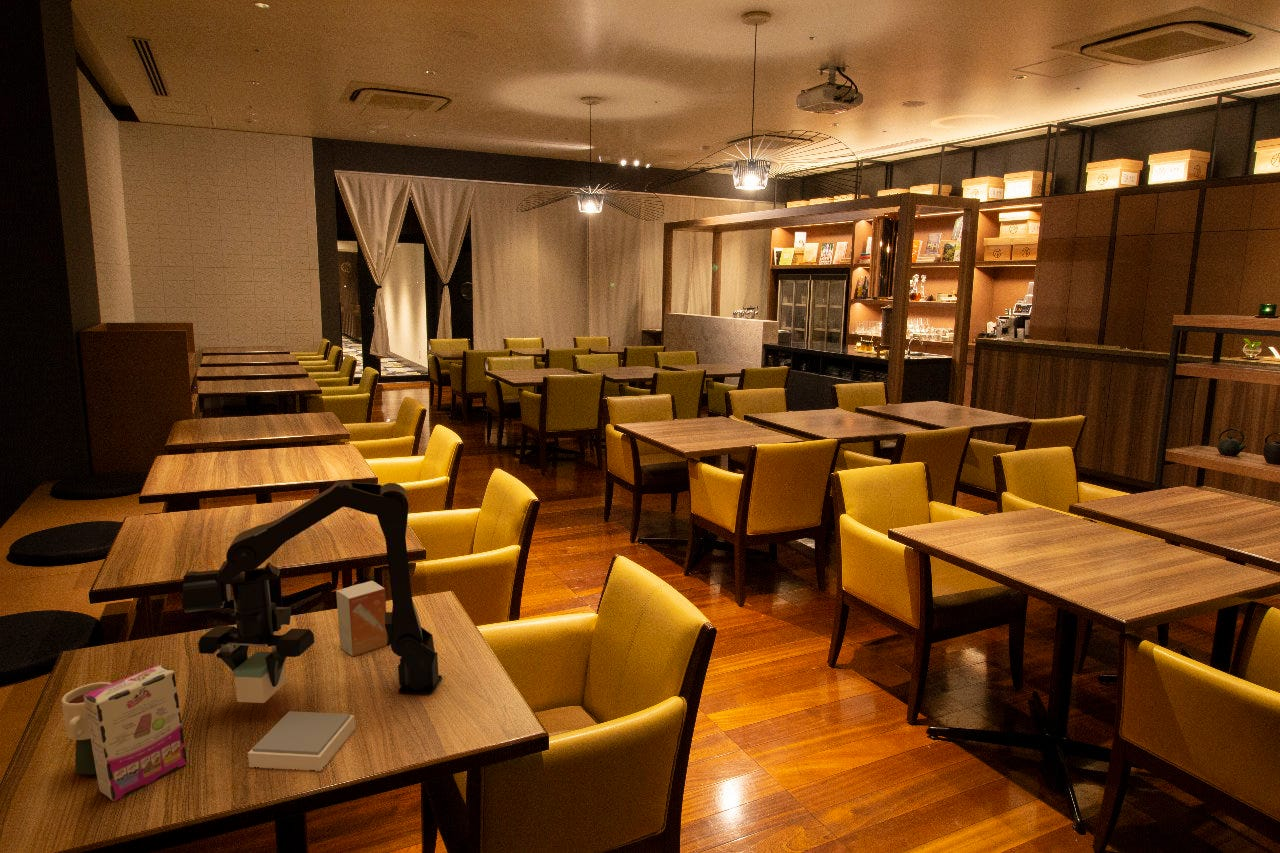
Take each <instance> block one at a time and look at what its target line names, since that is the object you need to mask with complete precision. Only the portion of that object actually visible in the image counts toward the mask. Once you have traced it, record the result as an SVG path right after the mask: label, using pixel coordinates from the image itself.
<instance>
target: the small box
mask: <svg viewBox="0 0 1280 853" xmlns="http://www.w3.org/2000/svg"><path fill="white" fill-rule="evenodd" d="M335 595H336V605H337V619H338V620H337V621H338V632H339V633H338V634H339V646H340V648H341V649H342V650H343V651H344V652H346V653H347V654H348V655H350V656H351V657H352V658H353V657H356V656H360V655H361V654H365V653H367V652H371V651H374V650H377V649H380V648H384V647H386V646H387V634H386V628H385V612H387V601H386V599H387V598H386V589H385V587H383V586H381V585H380V584H378V583H377V582H375V581H374V580H369V581H365V582H362V583H357V584H353V585H350V586H348V587H344V588H340V589H337V590H336V591H335ZM387 647H388V646H387Z"/></svg>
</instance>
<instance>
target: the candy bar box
mask: <svg viewBox="0 0 1280 853" xmlns="http://www.w3.org/2000/svg"><path fill="white" fill-rule="evenodd" d="M111 683H112V684H110V685H107V686H105V687H102V688H100V689H97V690H95V691H92V692H90V693H87V694H85V695H83V696H84V703H85V708H86V713H87V720H88V725H89V732H90V737H91V744H92V750H93V755H94V762H95V767H96V773H97V774H96V778H97V784H98V789H99V792H100V793H101V794H102V795H104V796H106V797H107V798H108V799H109V800H111V801H112V802H117V801H119V800H120V799H122V798H124V797H126V796H128V795H130V794H132V793H134V792H136V791H138V790H140V789H141V788H144V787H146V786H147V785H149V784H151V783H153V782H155V781H157V780H159V779H161V778H163V777H165V776H167V775H169V774H170V773H172V772H175V771H176V770H178V769H180V768H182V767H183V766H186V765H187V764H188V759H187V750H186V744H185V737H184V731H183V730H184V729H183V723H182V717H181V708H180V703H179V694H178V689H177V682H176V674H175V671H174V670H172V669H170V668H167V667H166V666H164V665H162V664H157V665H154V666H152V667H149V668H146V669H145V670H141V671H139V672H137V673H135V674H131V675H130V676H126V677H125V678H122V679H119V680H117V681H114V682H111Z"/></svg>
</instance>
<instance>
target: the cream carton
mask: <svg viewBox="0 0 1280 853" xmlns="http://www.w3.org/2000/svg"><path fill="white" fill-rule="evenodd" d="M270 653H272V651H256V652H254V653H253V654H252V655H251V656H250V657H249V656H248V659H247V660H246V661H244V662H243V663H242V664H241V665H240V666H238V667H237V668H236V669H235V670H234V672H233V676H234V687H235V696H236V702H237V703H254V704H255V703H258V704H259V703H260V704H264V703H266V702H267V701H268V700H269V699H270V698H271V697H272V696H273V695H274V694H275V693H277V691H279V690H280V689H281V687H283V686H284V685H285V684H286V675H285V674H286V673H285V664H284V665H283V668H282V672H281V675H280V678H279V682H278V684H277V685H276V686H275V687H273V686H272V684H271V681H270V677H269V672H268V668H267V664H266V659H265V658H266V657H267V656H268V655H269V654H270Z"/></svg>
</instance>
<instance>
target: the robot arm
mask: <svg viewBox="0 0 1280 853" xmlns="http://www.w3.org/2000/svg"><path fill="white" fill-rule="evenodd" d="M409 506H410V505H409V499H408V494H407V490H406V488H405V487H403V486H402V485H400V484H399V483H396V482H388V483H384V484H378V483H370V482H355V481H349V480H345V479H344V480H343V479H342V480H338V481H336V482H334V484H332V486H331V487H329V488H327V489H325V490H324V491H322V492H320V493H318V494H317V495H315V496H314V497H312V498H310V499H308V500H307V501H306V502H303V503H302V504H300V505H298V506H297V507H295V508H293V509H292V510H290V511H289V512H287V513H285V514H284V515H282V516H280V517H278V518H277V519H276V520H273V521H271V522H270V521H269V522H267V523H262V524H259V525H257V526H254V527H251V528H249V529H247V530H243V531H242V532H239V533H238V534H237V535H236V536H235V537H234V538H233V540H232V542H231V544H230V545H229V547H228V548H227V551H226V556H225V557H226V558H225V559H226V560H225V561H223V562H222V564H221V566H220V568H219V569H213V570H204V571H197V570H193V571H186V572H185V574H184V575H183V585H182V586H183V587H182V596H181V606H182V608H183V611H184V613H193V612H201V611H202V612H203V611H209V610H218V609H223V608H224V606H225V602H226V603H227V602H231V596H232V595H231V594H233V596H232V597H233V604H234V606H233V607H234V612H233V613H232V614H230V621H235V624H236V627H235V626H233V625H216V626H214V627H213V628H211V629H210V630H208V631H207V632H206V633H204V634H203V635H201V636H200V637H199V638H198V641H197V648H198V653H199V654H203V655H204V654H208V655H209V654H210V655H214V654H215V653H216V652H217V651H218V653H217V654H215V655H216V658H217V659H221V661H223V663H224V664H226V666H227V667H229V669H230V670H231V671H232V672H233V673H234V670H235V669H236V668H237V667H238V666H240V665H241V664H242V663H243V662H244V661H246V660H247V659H248V658H249V656H248V652H249V647H271V652H272V653H270V654H269V655H268V656H267V657H266V658H265V659H266V664H267V668H268V672H269V677H270V681H271V684H272V686H273V687H275V686H276V685H277V684H278V682H279V678H280V675H281V672H282V668H283V665H284V666H285V662H286V659H287V657H288V658H297V657H300V656H301V655H303V653H305V651H307V650H308V649H309V648H310V647H312V646H313V644H315V635H314V634H315V633H314V632H313V631H312V630H311V629H310V628H294V627H293V628H290V629H289V630H288V631H286V632H285V633H284V634H281V635H280V634H275V632H279V631H280V630H281V629H282V626H284V625H287V626H289V625H291V615H292V607H287V606H285V607H284V606H277V604H276V602H272V601H271V593H270V583H269V582H270V581H271V580H277V579H278V578H279V576H280V571H281V570H280V568H278V567H277V566H274V565H273V564H272V563H271V562H267V563H266V565H264V566H263V567H260V566H261V565H263V563H265V562H266V561H267V560H268V559H270V558H271V557H272V556H273V555H274V553H275V552H277V551H278V550H279V549H280V547H282V546H283V545H284V544H285V543H287V542H288V541H289V540H291V539H293V538H294V537H296V536H298V535H300V534H301V533H302V532H304V531H306V530H308V529H309V528H311V527H313V526H314V525H316V524H317V523H319V522H320V521H323V520H324V519H326V518H327V517H329V516H330V515H332V514H334V513H335V512H337V511H339V510H340V509H342V508H346V509H347V508H348V509H352V510H355V511H358V512H362V513H365V514H368V515H373V516H377V520H378V523H379V527H380V529H381V532H382V533H383V536H384V540H385V548H386V556H387V564H388V565H387V566H388V573H389V574H388V575H389V583H390V592H391V600H392V608H391V611H389V612H388V611H386V612H385V628H386V634H387V647H388V646H390V648H391V651H392V653H393V654H394V655H396V656H398V657H400V658H399V663H398V665H397V671H398V673H397V674H398V684H399V686H400V687H399V688H398V690H397V691H398V693H399V694H411V695H412V694H413V695H431V694H433V692H434V690H436V689H437V688H436V687H437V686H438V685H439V683H440V682H441V680H442V679H443V676H442V675H440V674H439V661H438V659H439V657H438V652H436V649H435V642H434V636H433V634H432V633H431V632H430V631H428V630H426V629H425V628H424V627H422V625H421V621H420V619H419V614H418V611H417V609H416V607H415V603H414V601H413V596H412V594H413V593H412V585H411V574H410V567H409V566H410V565H409V557H408V555H409V554H408V548H407V538H406V536H407V529H408V528H407V526H408V518H409ZM231 585H232V587H231ZM231 590H232V591H231Z"/></svg>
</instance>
